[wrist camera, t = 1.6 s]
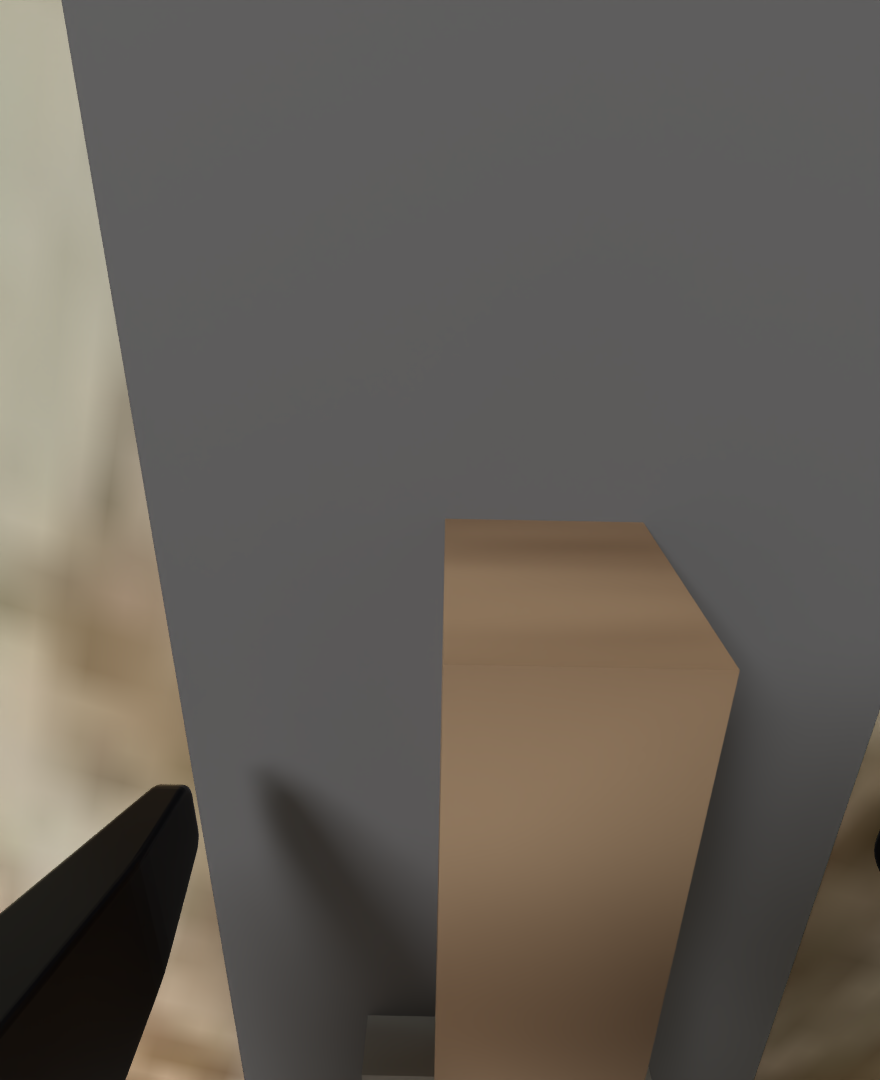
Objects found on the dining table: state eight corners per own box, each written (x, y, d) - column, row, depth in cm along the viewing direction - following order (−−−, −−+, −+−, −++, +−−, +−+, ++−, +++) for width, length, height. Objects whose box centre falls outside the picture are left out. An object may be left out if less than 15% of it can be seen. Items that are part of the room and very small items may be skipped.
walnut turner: (612, 1140, 15) (653, 1369, 12) (373, 1135, 15) (354, 1363, 12) (742, 524, 9) (888, 673, 6) (346, 517, 9) (294, 661, 6)
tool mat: (679, 1252, 17) (686, 1279, 17) (281, 1243, 18) (277, 1270, 17) (1101, -63, 7) (1148, -82, 6) (73, -77, 7) (44, -98, 6)
